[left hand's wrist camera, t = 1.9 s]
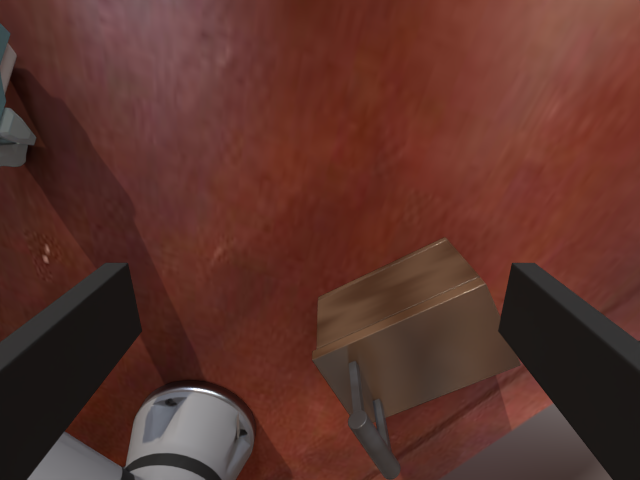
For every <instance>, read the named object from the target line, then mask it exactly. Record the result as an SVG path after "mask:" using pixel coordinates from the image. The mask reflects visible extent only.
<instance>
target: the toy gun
mask: <svg viewBox="0 0 640 480" xmlns="http://www.w3.org/2000/svg"><path fill="white" fill-rule="evenodd" d="M9 37H10V33H9V32H8V31H7V30H6V29H5V28H4V27H3V26H2V25H1V24H0V166H10V167H18V166H21V165H23V164H24V163H25V162H26V152H27V147H28V145H34V144H35V140H36V137H35V135H34V134H33V133H32V131H31V130H30V129H29V127H28V126H27V125H26V124H25V122H24V121H23V120H22V118H21V117H20V116H18V115H17V114H16V113H15V112H14V111H13V110H12V109H11V108H4V106H5V103H6V99H5V93H6V89H7V86H8V83H9V80H10V77H11V73H12V70H13V67H14V64H15V61H16V57H17V56H16V54H15V52H14V51H13V49H12V48H11V47H10V45H9V44H8V40H9Z"/></svg>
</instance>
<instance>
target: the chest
mask: <svg viewBox="0 0 640 480" xmlns="http://www.w3.org/2000/svg"><path fill="white" fill-rule="evenodd" d="M479 277H480V276H479V275H478V274H477V273H476V272H475V270H474V269H473V268H472V267H471V266H470V265H469V264H468V262H467V261H466V260H465V259H464V258H463V257H462V256H461V254H460V253H459V252H458V251H457V250H456V249H455V248H454V246H453V245H452V244H451V243H450V242H449V241H448V240H447V238H446V237H444V238H442V239H440V240H438V241H436V242H434V243H432V244H430V245H428V246H425V247H423V248H421V249H419V250H417V251H415V252H413V253H411V254H409V255H406V256H404V257H402V258H400V259H398V260H396V261H394V262H392V263H390V264H387V265H385V266H383V267H381V268H379V269H377V270H375V271H373V272H371V273H369V274H366V275H364V276H362V277H360V278H358V279H356V280H354V281H352V282H350V283H347V284H345V285H343V286H341V287H339V288H337V289H335V290H333V291H331V292H328V293H326V294H324V295H322V296H320V297H318V315H317V349H319V348H321V347H323V346H326V345H328V344H330V343H332V342H335V341H337V340H339V339H341V338H344V337H346V336H348V335H350V334H353V333H355V332H357V331H359V330H362V329H364V328H366V327H368V326H371V325H373V324H375V323H377V322H380V321H382V320H384V319H386V318H389V317H391V316H393V315H395V314H398V313H400V312H402V311H404V310H407V309H409V308H411V307H413V306H416V305H418V304H420V303H422V302H425V301H427V300H429V299H431V298H434V297H436V296H438V295H440V294H443V293H445V292H447V291H449V290H452V289H454V288H456V287H458V286H461V285H463V284H465V283H467V282H470V281H472V280H474V279H476V278H479Z"/></svg>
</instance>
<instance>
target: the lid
mask: <svg viewBox="0 0 640 480" xmlns="http://www.w3.org/2000/svg"><path fill="white" fill-rule="evenodd" d="M500 319H501V317H500V315H499V313H498V310H497V308H496V306H495V304H494V301H493V299H492V297H491V294H490V292H489V290H488V287H487V285H486V283H485V282H484V281H483V280H482V279H481V278H480V277H479V278H476V279H474V280H472V281H470V282H467V283H465V284H463V285H461V286H458V287H456V288H454V289H452V290H449V291H447V292H445V293H443V294H440V295H438V296H436V297H434V298H431V299H429V300H427V301H425V302H422V303H420V304H418V305H416V306H413V307H411V308H409V309H407V310H404V311H402V312H400V313H398V314H395V315H393V316H391V317H389V318H386V319H384V320H382V321H380V322H377V323H375V324H373V325H371V326H368V327H366V328H364V329H362V330H359V331H357V332H355V333H353V334H350V335H348V336H346V337H344V338H341V339H339V340H337V341H335V342H332V343H330V344H328V345H326V346H323V347H321V348H319V349H317V350H314V351H313V352H312V361H313V362H314V364H315V365H316V367H317V368H318V370H319V371H320V373H321V374H322V376H323V377H324V378H325V380H326V381H327V383H328V384H329V386H330V387H331V389H332V390H333V392H334V393H335V395H336V396H337V398H338V399H339V400H340V402H341V403H342V405H343V406H344V408H345V409H346V411H347V412H348V414H349V415H350V417H349V419H348V425H349V427H350V429H351V430H352V431H353V433H354V434H355V436H356V437H357V439H358V440H359V442H360V443H361V444H362V446H363V447H364V449H365V450H366V452H367V453H368V455H369V456H370V457H371V459H372V460H373V462H374V463H375V465H376V466H377V468H378V469H379V470H380V472H381V473H382V475H383V476H384V477H385V478H386V479H389V480H391V479H394V478H396V477H397V476H398V475H399V473H400V464H399V462H398V461H397V459H396V458H395V456H394V455H393V453H392V451H391V446H390V440H389V435H388V430H387V425H386V420H385V418H386V417H389V416H391V415H394V414H397V413H399V412H402V411H404V410H407V409H409V408H412V407H415V406H417V405H420V404H422V403H425V402H427V401H430V400H433V399H435V398H438V397H440V396H443V395H445V394H448V393H451V392H453V391H456V390H458V389H461V388H463V387H466V386H468V385H471V384H474V383H476V382H479V381H481V380H484V379H486V378H489V377H492V376H494V375H497V374H499V373H502V372H504V371H507V370H510V369H512V368H515V367H517V366H520V365H521V364H520V362H519V359H518V357H517V355H516V354H515V352H514V351H513V350H512V349H511V347H510V346H509V345H508V343H507V342H506V341H505V340H504V338H503V337H502V336H501V334H500V333H499V332H498V329H499V324H500ZM374 422H376V426H377V429H376V427H375V426H374V424H373V423H374Z"/></svg>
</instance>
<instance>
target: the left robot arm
mask: <svg viewBox="0 0 640 480" xmlns="http://www.w3.org/2000/svg"><path fill="white" fill-rule="evenodd" d="M141 332H142V329H141V324H140V319H139V314H138V309H137V304H136V300H135V295H134V290H133V285H132V280H131V275H130V271H129V266H128V263H105V264H103V265H102V266H101V267H100V268H98V269H97V270H96V271H94V272H93V273H92V274H90V275H89V276H88V277H86V278H85V279H84V280H82V281H81V282H80V283H78V284H77V285H76V286H74V287H73V288H72V289H70V290H69V291H68V292H66V293H65V294H64V295H62V296H61V297H60V298H58V299H57V300H56V301H54V302H53V303H52V304H50V305H49V306H48V307H47V308H45V309H44V310H43V311H41V312H40V313H39V314H37V315H36V316H35V317H33V318H32V319H31V320H29V321H28V322H27V323H25V324H24V325H23V326H21V327H20V328H19V329H17V330H16V331H15V332H13V333H12V334H11V335H9V336H8V337H7V338H5V339H4V340H3V341H1V342H0V480H236V478H237V477H238V475H239V473H240V472H241V470H242V468H243V466H244V465H245V463H246V461H247V460H248V458H249V457H250V455H251V452H252V449H253V444H254V440H255V434H256V424H255V420H254V417H253V415H252V413H251V411H250V409H249V408H248V406H247V405H246V404H245V403H244V402H243V401H242V400H241V399H240V398H239V397H238V396H236V395H235V394H234V393H232V392H231V391H229V390H227V389H225V388H223V387H221V386H218V385H215V384H212V383H208V382H203V381H193V380H187V381H178V382H173V383H169V384H166V385H164V386H162V387H160V388H158V389H156V390H155V391H153V392H152V393H151V394H150V395H149V396H148V397H147V398H146V400H145V401H144V403H143V404H142V406H141V408H140V409H139V411H138V413H137V415H136V417H135V419H134V423H133V429H132V434H131V440H130V445H129V451H128V456H127V462H126V466H125V467H120V466H119V465H117V464H116V463H114V462H112V461H111V460H109V459H108V458H106V457H104V456H103V455H101V454H100V453H98V452H96V451H95V450H93V449H92V448H90V447H88V446H87V445H85V444H84V443H82V442H81V441H79V440H77V439H76V438H74V437H73V436H71V435H69V434H68V433H66V432H65V430H66V429H67V427H68V426H69V425H70V424H71V422H72V421H73V420H74V418H75V417H76V416H77V415H78V413H79V412H80V411H81V409H82V408H83V407H84V405H85V404H86V403H87V402H88V400H89V399H90V398H91V396H92V395H93V394H94V393H95V391H96V390H97V389H98V387H99V386H100V385H101V384H102V382H103V381H104V380H105V378H106V377H107V376H108V374H109V373H110V372H111V371H112V369H113V368H114V367H115V365H116V364H117V363H118V362H119V360H120V359H121V358H122V356H123V355H124V354H125V352H126V351H127V350H128V349H129V347H130V346H131V345H132V343H133V342H134V341H135V340H136V338H137V337H138V336H139V334H140V333H141ZM498 332H499V333H500V334H501V336H502V337H503V338H504V340H505V341H506V342H507V343H508V345H509V346H510V347H511V349H512V350H513V351H514V352H515V354H516V355H517V356H518V358H519V359H520V360H521V362H522V363H523V364H524V365H525V367H526V368H527V369H528V371H529V372H530V373H531V374H532V376H533V377H534V378H535V380H536V381H537V382H538V384H539V385H540V386H541V387H542V389H543V390H544V391H545V393H546V394H547V395H548V396H549V398H550V399H551V400H552V402H553V403H554V404H555V405H556V407H557V408H558V409H559V411H560V412H561V413H562V414H563V416H564V417H565V418H566V420H567V421H568V422H569V424H570V425H571V426H572V427H573V429H574V430H575V431H576V433H577V434H578V435H579V437H580V438H581V439H582V440H583V442H584V443H585V444H586V446H587V447H588V448H589V449H590V451H591V452H592V453H593V454H594V456H595V457H596V458H597V460H598V461H599V462H600V464H601V465H602V466H603V468H604V469H605V470H606V471H607V473H608V474H609V475H610V477H611V478H612V479H613V480H640V341H637V340H636V339H635V338H633V337H632V336H631V335H629V334H628V333H627V332H625V331H624V330H623V329H621V328H620V327H619V326H617V325H616V324H615V323H613V322H612V321H611V320H609V319H608V318H607V317H605V316H604V315H603V314H601V313H600V312H599V311H597V310H596V309H595V308H593V307H592V306H591V305H590V304H588V303H587V302H586V301H584V300H583V299H582V298H580V297H579V296H578V295H576V294H575V293H574V292H572V291H571V290H570V289H568V288H567V287H566V286H564V285H563V284H562V283H560V282H559V281H558V280H556V279H555V278H554V277H552V276H551V275H550V274H548V273H547V272H546V271H544V270H543V269H542V268H540V267H539V266H538V265H537V264H535V263H512V266H511V271H510V275H509V280H508V285H507V290H506V295H505V300H504V304H503V309H502V314H501V319H500V324H499V329H498Z"/></svg>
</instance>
